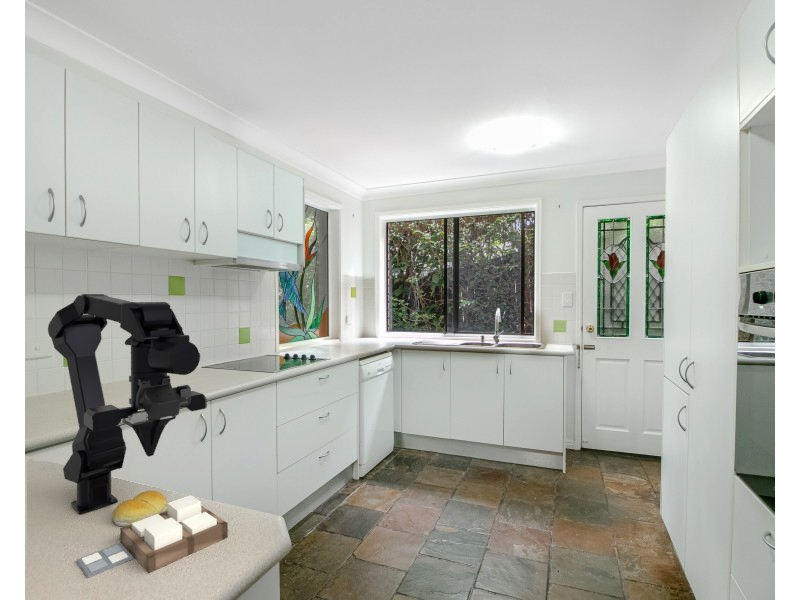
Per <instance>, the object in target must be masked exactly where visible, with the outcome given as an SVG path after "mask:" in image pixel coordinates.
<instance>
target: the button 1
mask: <svg viewBox="0 0 800 600" xmlns="http://www.w3.org/2000/svg"><path fill="white" fill-rule="evenodd" d="M163 520H165V519H164V518H162V517H161V516H160V515H159V514H156V515H154V516H151V517H148V518H145V519H143V520H140V521H137V522H134V523H132V531H133V532H134V533H135V534H136V535H137V536H138V537H139V538H140V537H143V536H144V528H145V527H147V526H150V525H153V524H155V523H158V522H161V521H163Z"/></svg>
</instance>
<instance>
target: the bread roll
mask: <svg viewBox="0 0 800 600" xmlns="http://www.w3.org/2000/svg"><path fill="white" fill-rule="evenodd" d="M167 503H169V501H168V499H167V497H166V496H165V495H164V494H163V493H162V492H160V491H156V490H145V491H142V492H140V493H138V494H137V495H136V496H134V497H133V498H131V499H127V500H124V501H122V502H121V503H119V504H118V505H117V506H116V508H115V509H114V510H113V513H112V520H113V522H114V524H115V525H116V526H118V527H120V528H122V527H125V526H127V525H130V524H132V523H134V522H137V521H140V520H143V519H145V518H148V517H151V516H154V515H156V514H160V513H163V512H166V511H167Z"/></svg>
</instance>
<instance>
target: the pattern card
mask: <svg viewBox="0 0 800 600" xmlns="http://www.w3.org/2000/svg"><path fill="white" fill-rule="evenodd" d="M133 559H134V557H133V555H132V554H131V553H130V552H129V551H128V550H127V549H126V548H125V547H124V546H123V545H122V544H121V543H120V542H117V543H116V544H113V545H111V546H107V547H106V548H103V549H101V550H98V551H95V552H92V553H90V554H87V555H84V556H82V557H79V558H77V559H76V563H77V565H78V566H79V567H80V569H81V570H82V571H83V574H85V576H86V578H87V579H89V578H91V577H93V576H96V575H98V574H101V573H103V572H105V571H108V570H110V569H113V568H114V567H118V566H119V565H122V564H124V563H127V562H129V561H131V560H133Z"/></svg>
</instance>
